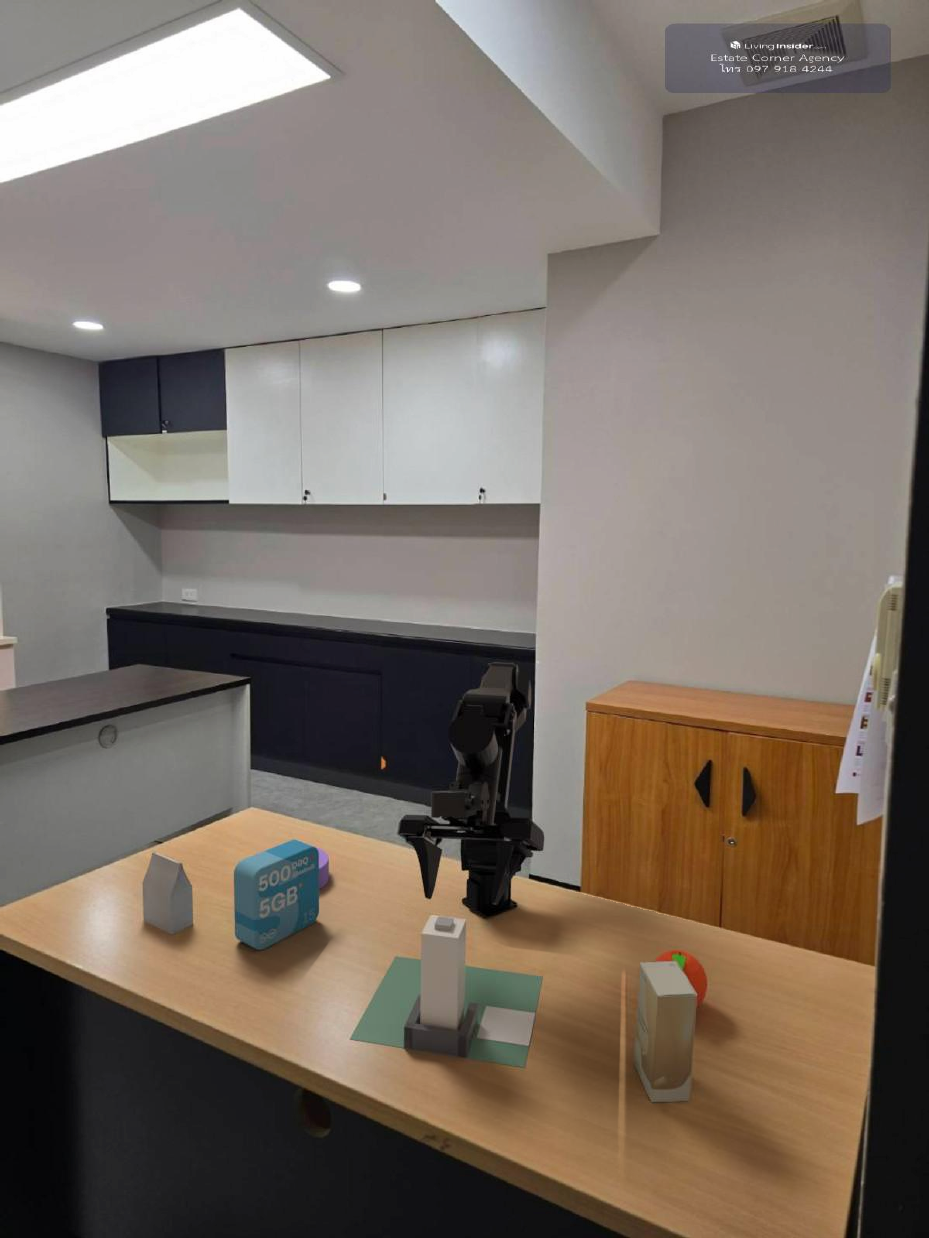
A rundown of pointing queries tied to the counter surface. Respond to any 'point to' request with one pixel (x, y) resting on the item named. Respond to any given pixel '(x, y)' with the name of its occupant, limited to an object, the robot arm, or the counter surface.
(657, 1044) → the skincare box
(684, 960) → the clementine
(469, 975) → the board
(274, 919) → the data package
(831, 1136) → the counter surface
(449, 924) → the white tall block
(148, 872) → the grey milk carton
